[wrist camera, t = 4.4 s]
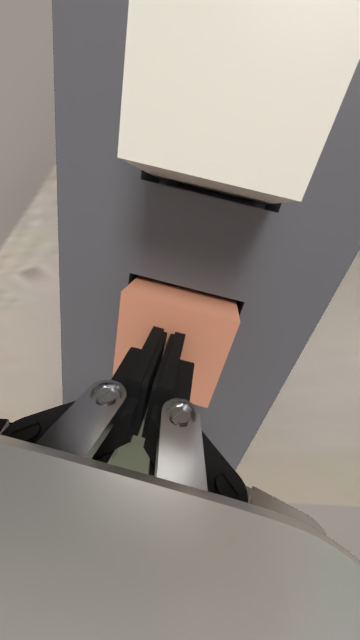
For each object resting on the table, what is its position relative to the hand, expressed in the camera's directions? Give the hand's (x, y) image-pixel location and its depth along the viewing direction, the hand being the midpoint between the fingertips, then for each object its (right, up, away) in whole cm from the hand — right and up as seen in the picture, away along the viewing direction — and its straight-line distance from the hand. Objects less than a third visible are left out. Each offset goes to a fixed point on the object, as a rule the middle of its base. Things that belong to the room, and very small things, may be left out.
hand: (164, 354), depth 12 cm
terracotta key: (+1, +2, +4) cm, 5 cm away
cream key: (+3, +11, -2) cm, 11 cm away
